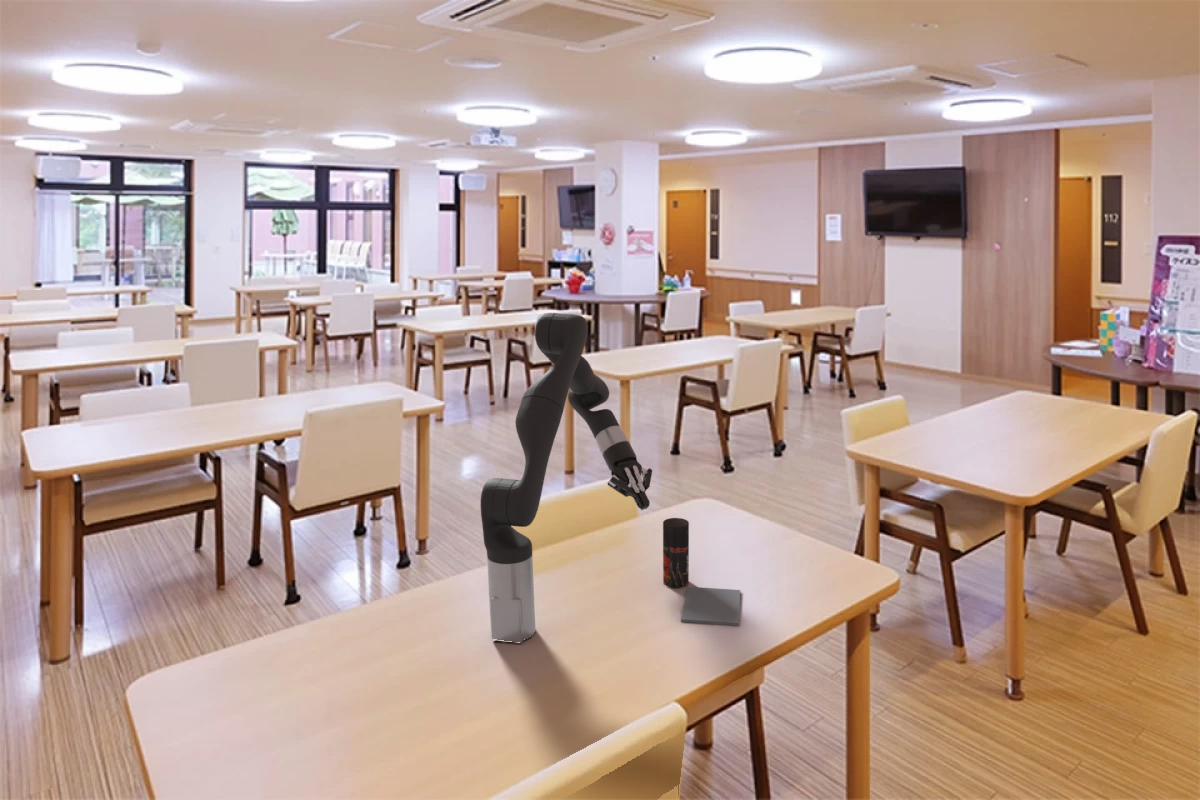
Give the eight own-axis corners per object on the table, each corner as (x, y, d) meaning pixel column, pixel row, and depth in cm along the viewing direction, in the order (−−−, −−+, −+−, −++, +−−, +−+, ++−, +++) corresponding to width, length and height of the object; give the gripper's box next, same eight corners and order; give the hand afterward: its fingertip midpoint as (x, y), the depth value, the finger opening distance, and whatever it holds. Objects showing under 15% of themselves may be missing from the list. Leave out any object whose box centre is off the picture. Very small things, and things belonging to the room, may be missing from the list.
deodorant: (689, 588, 193) (689, 527, 190) (663, 588, 193) (663, 527, 190) (687, 577, 199) (687, 517, 196) (662, 577, 199) (662, 518, 196)
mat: (738, 625, 175) (738, 623, 175) (681, 621, 177) (681, 619, 177) (740, 592, 190) (740, 589, 190) (687, 589, 193) (687, 586, 193)
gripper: (599, 444, 203) (630, 506, 196) (642, 435, 210) (673, 494, 203) (587, 460, 208) (617, 521, 201) (630, 451, 216) (660, 509, 208)
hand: (645, 507), depth 202 cm, fingers closed
